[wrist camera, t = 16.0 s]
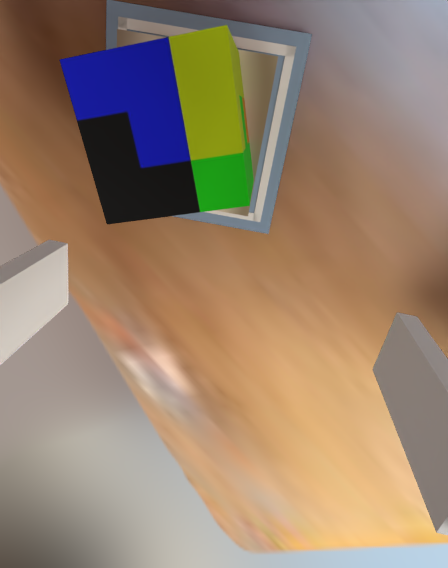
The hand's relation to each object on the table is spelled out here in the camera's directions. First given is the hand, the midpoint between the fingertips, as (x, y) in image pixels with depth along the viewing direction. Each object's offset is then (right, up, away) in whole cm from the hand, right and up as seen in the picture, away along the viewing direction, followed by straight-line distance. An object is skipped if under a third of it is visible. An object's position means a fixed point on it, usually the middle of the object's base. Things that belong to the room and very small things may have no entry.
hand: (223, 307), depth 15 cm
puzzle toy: (-3, +14, +17) cm, 23 cm away
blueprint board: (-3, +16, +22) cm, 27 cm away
